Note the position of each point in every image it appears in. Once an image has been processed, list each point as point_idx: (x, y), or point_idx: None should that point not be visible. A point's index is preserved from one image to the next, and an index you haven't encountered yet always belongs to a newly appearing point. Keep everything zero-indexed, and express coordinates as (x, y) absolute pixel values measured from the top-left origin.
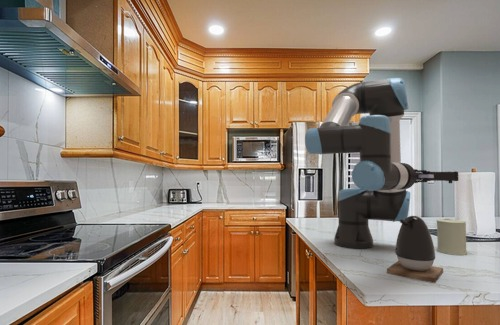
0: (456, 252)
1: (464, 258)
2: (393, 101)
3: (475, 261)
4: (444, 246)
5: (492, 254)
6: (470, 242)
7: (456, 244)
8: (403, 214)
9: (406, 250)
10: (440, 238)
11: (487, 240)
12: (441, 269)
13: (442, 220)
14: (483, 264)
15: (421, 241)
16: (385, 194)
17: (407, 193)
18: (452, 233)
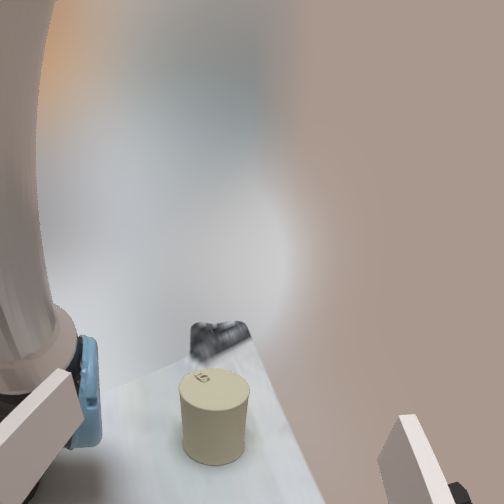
0: (229, 458)
1: (252, 480)
2: None
3: (279, 488)
4: (203, 453)
5: (280, 416)
6: (222, 358)
7: (231, 446)
8: (87, 445)
9: None
10: (193, 437)
11: (240, 336)
12: None
13: (194, 390)
14: (300, 499)
15: None
16: (2, 398)
17: (85, 367)
18: (223, 431)
